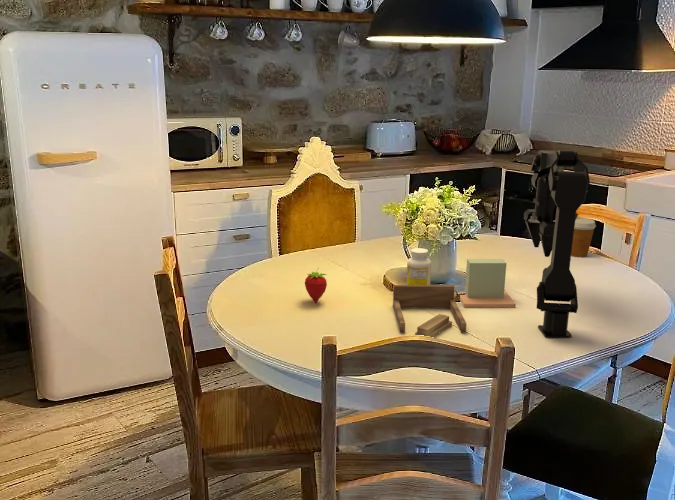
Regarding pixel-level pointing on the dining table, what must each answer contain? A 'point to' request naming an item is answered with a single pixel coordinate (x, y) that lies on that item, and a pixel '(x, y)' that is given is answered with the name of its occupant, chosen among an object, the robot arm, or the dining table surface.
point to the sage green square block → (485, 278)
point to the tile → (488, 302)
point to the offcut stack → (434, 325)
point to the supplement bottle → (418, 267)
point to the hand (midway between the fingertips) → (541, 251)
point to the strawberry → (315, 285)
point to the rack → (425, 301)
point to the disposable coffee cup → (582, 236)
